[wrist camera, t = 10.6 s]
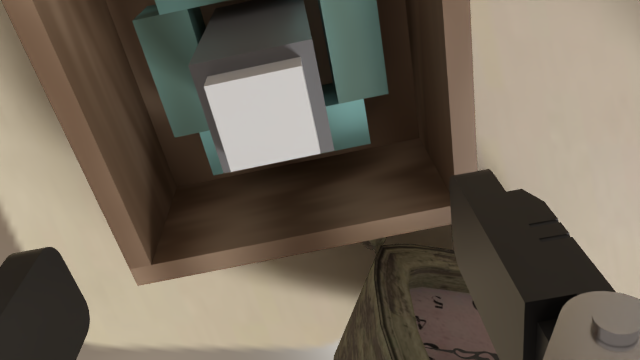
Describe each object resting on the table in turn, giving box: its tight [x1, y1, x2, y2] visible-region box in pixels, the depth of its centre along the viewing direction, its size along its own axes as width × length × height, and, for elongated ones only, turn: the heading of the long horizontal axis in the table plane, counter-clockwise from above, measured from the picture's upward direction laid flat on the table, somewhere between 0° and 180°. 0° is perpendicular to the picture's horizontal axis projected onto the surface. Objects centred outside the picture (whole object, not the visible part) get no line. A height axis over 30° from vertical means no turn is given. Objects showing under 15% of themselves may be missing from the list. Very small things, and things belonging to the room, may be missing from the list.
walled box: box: [1, 0, 477, 286], centre depth 24 cm, size 16×16×8 cm
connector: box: [188, 0, 334, 173], centre depth 22 cm, size 4×4×10 cm
